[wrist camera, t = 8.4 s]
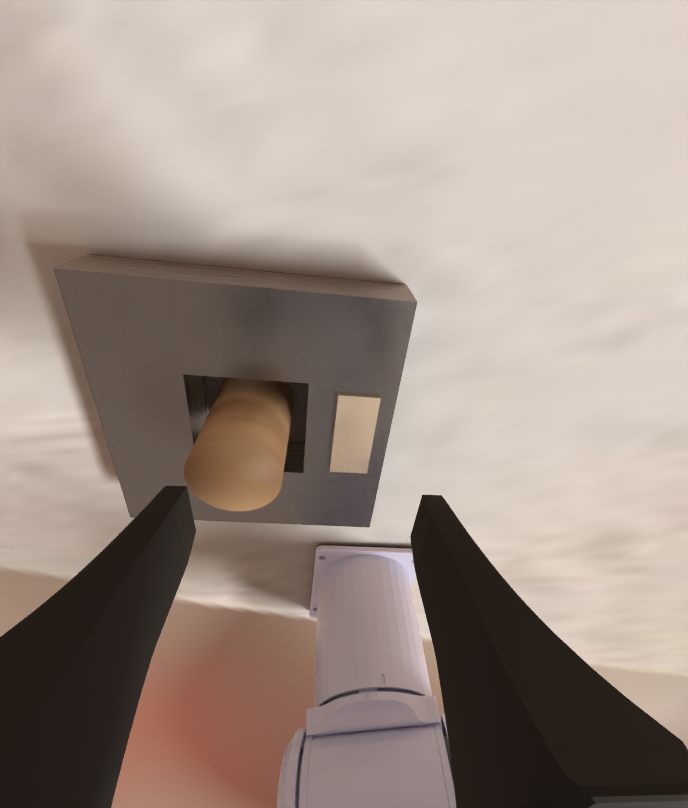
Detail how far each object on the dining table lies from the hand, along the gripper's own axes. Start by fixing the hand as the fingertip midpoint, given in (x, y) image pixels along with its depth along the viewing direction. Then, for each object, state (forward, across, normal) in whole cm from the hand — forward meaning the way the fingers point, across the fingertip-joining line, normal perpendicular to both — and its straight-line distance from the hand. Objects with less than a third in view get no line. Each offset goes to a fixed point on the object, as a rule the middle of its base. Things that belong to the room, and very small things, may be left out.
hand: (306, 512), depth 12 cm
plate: (+9, +3, +2) cm, 10 cm away
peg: (+10, +3, +2) cm, 10 cm away
